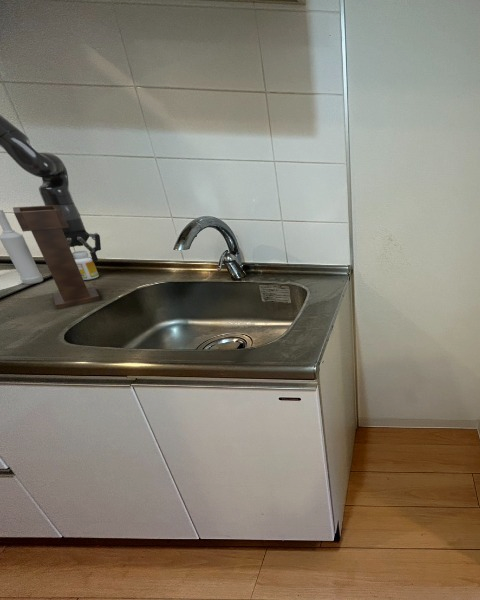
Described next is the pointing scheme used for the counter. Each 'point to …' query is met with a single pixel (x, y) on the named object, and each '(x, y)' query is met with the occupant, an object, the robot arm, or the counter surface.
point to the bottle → (19, 252)
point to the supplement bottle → (85, 265)
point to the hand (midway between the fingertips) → (83, 263)
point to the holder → (56, 253)
